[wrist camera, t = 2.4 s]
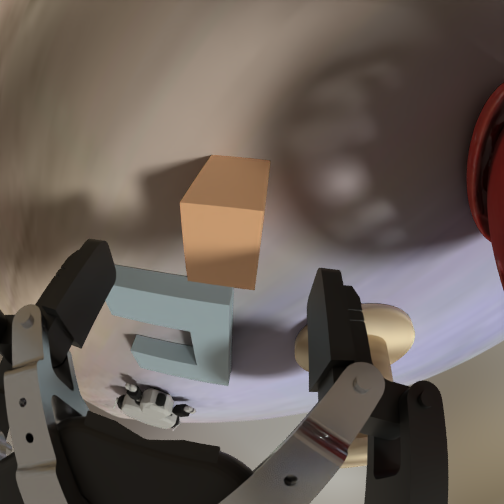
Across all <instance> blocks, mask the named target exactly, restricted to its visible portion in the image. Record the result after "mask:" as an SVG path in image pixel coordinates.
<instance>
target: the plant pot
mask: <svg viewBox="0 0 504 504" xmlns="http://www.w3.org/2000/svg"><path fill="white" fill-rule="evenodd" d="M467 194H468V201H469V206H470V209H471V213H472V216H473V219H474V221H475V223H476V225H477V227H478V229H479V231H480V232H481V233H482V234H483V236H484V237H485V238H486V239H488V240H489V241H490V242H492V247H493V252H494V257H495V261H496V265H497V269H498V272H499V276H500V280H501V283H502V287H503V290H504V83H503V84H501V85H500V86H499V87H498V88H497V89H496V90H495V91H494V92H493V94H492V95H491V96H490V97H489V99H488V100H487V102H486V103H485V105H484V107H483V109H482V111H481V113H480V115H479V117H478V120H477V122H476V125H475V128H474V131H473V135H472V139H471V143H470V147H469V154H468V161H467Z"/></svg>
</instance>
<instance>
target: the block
mask: <svg viewBox="0 0 504 504" xmlns="http://www.w3.org/2000/svg"><path fill="white" fill-rule="evenodd" d="M269 170H270V160H261V159H252V158H242V157H231V156H219V155H211V156H210V158H209V159H208V161H207V162H206V164H205V165H204V167H203V168H202V169H201V171H200V172H199V174H198V175H197V177H196V178H195V180H194V181H193V183H192V184H191V186H190V187H189V189H188V190H187V192H186V194H185V195H184V197H183V198H182V200H181V201H180V211H181V223H182V234H183V244H184V254H185V263H186V271H187V279H188V281H192V282H198V283H205V284H212V285H219V286H226V287H234V288H241V289H249V290H255V283H256V275H257V268H258V260H259V252H260V245H261V237H262V229H263V221H264V212H265V204H266V196H267V187H268V178H269Z"/></svg>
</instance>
